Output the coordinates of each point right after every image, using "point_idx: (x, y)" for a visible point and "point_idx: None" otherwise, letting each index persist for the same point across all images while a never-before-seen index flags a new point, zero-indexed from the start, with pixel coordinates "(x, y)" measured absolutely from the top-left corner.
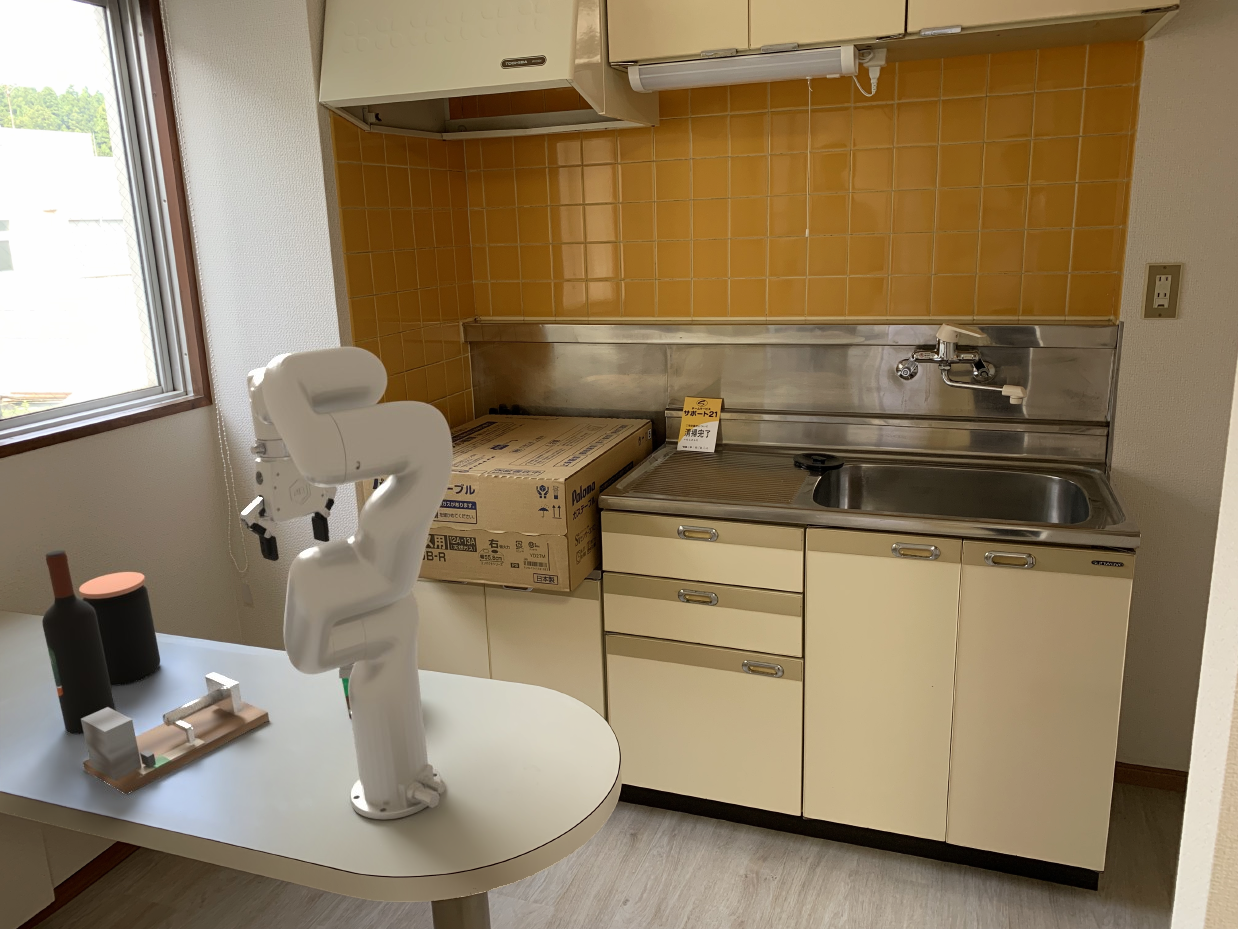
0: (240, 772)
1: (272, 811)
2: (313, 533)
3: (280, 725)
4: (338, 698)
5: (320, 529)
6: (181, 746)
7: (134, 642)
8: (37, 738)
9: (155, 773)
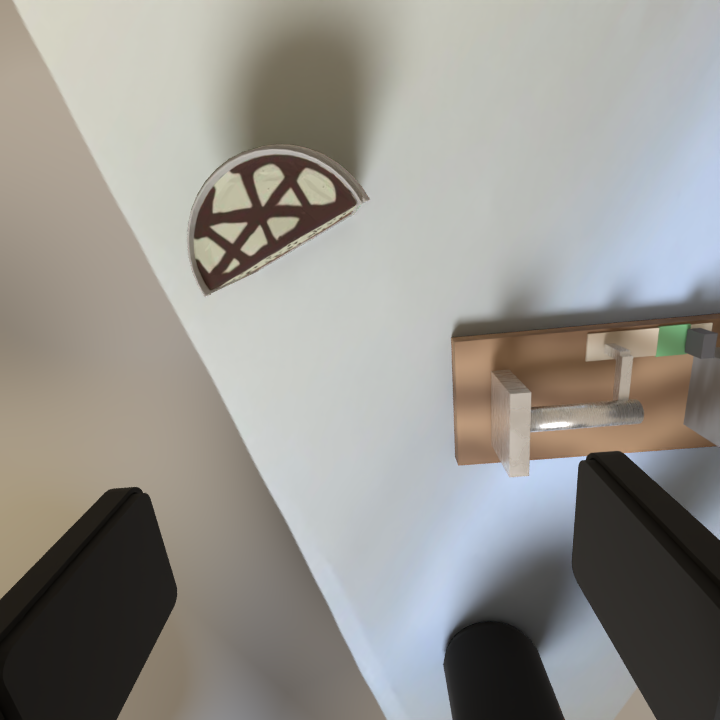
0: (593, 210)
1: (656, 15)
2: (158, 635)
3: (449, 304)
4: (323, 303)
5: (100, 603)
6: None
7: (516, 690)
8: None
9: (686, 319)
